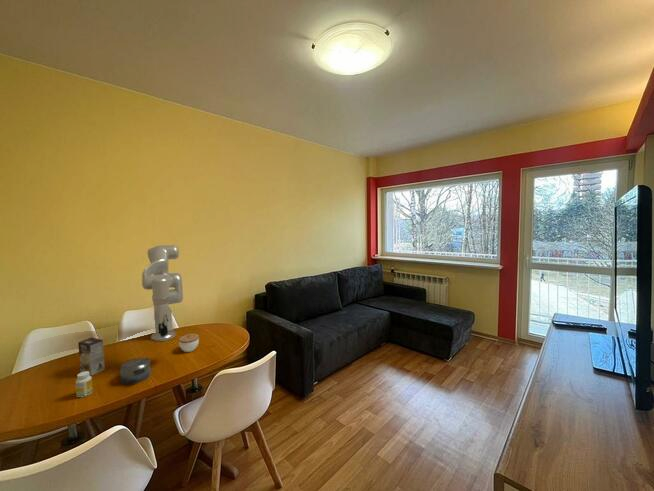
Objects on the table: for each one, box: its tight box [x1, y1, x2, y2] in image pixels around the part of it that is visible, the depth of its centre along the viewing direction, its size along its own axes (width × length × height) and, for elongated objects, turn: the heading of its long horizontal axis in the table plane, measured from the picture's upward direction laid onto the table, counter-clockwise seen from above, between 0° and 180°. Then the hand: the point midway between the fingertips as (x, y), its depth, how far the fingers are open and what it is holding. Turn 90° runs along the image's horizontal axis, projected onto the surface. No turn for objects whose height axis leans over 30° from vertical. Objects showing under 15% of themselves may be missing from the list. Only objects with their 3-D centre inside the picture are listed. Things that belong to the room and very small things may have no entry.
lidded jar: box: [178, 333, 200, 353], centre depth 162 cm, size 11×11×9 cm
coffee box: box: [78, 336, 106, 376], centre depth 138 cm, size 9×6×16 cm
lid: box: [150, 325, 176, 341], centre depth 146 cm, size 11×11×6 cm
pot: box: [119, 357, 152, 385], centre depth 133 cm, size 16×12×7 cm
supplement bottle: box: [75, 371, 93, 398], centre depth 120 cm, size 5×5×10 cm
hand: (163, 333), depth 146 cm, fingers closed on lid, 2 cm apart
